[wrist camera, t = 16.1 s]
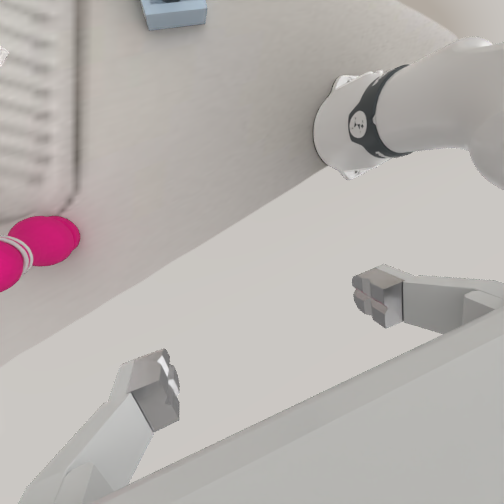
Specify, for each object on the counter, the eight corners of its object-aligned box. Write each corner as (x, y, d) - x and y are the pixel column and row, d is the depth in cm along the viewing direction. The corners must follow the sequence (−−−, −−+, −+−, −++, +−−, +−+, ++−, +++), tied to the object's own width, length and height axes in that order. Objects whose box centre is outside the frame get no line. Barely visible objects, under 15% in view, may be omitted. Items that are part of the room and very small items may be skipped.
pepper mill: (88, 221, 39) (6, 255, 21) (78, 261, 40) (-9, 327, 22) (36, 206, 37) (-111, 229, 18) (26, 249, 38) (-122, 311, 19)
